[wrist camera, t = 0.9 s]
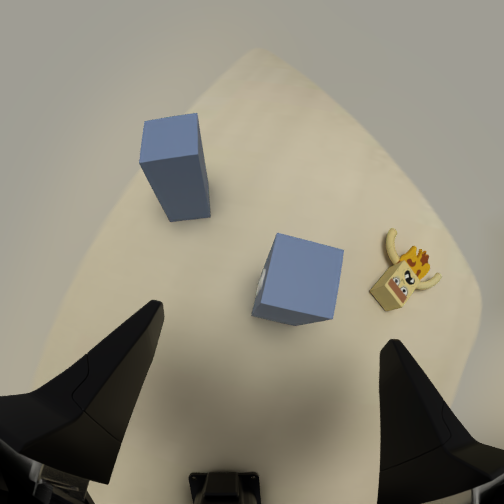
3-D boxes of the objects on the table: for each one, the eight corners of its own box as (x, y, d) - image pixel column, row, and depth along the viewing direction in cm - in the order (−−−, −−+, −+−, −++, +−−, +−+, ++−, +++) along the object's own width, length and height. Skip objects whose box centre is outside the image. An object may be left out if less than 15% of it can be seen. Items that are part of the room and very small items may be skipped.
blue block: (210, 217, 26) (198, 154, 17) (168, 222, 26) (137, 163, 16) (208, 182, 27) (197, 112, 18) (168, 187, 27) (142, 121, 17)
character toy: (453, 270, 22) (417, 326, 21) (435, 277, 26) (398, 328, 24) (407, 212, 24) (364, 261, 22) (392, 224, 27) (350, 270, 25)
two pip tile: (295, 325, 24) (332, 318, 14) (249, 315, 24) (257, 302, 14) (304, 282, 25) (343, 250, 15) (260, 272, 25) (274, 232, 15)
